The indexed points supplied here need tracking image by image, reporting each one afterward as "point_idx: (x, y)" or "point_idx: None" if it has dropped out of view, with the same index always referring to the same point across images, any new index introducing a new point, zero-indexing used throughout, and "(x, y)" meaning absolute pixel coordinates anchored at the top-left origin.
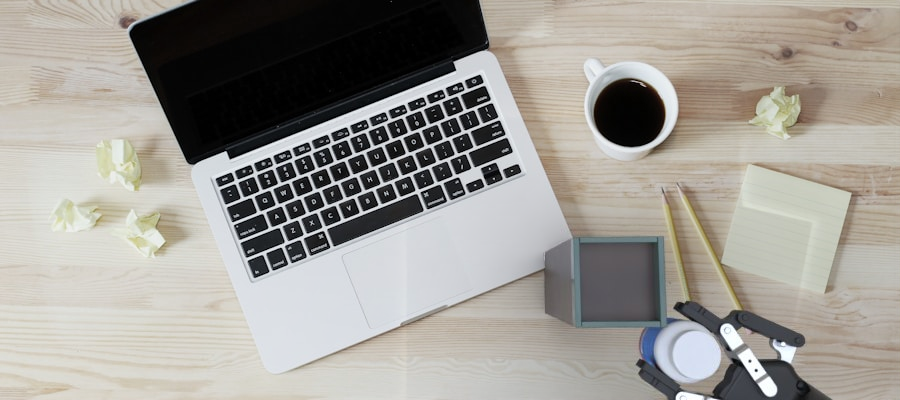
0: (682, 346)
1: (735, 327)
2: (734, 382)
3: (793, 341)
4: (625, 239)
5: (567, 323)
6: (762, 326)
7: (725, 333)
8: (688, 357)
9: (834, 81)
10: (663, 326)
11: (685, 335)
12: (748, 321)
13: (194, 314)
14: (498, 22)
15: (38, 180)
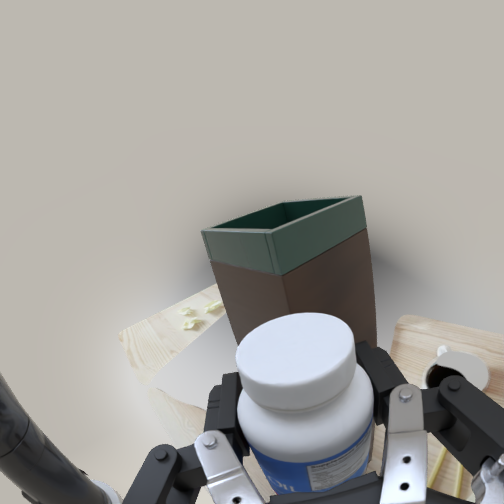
0: (285, 322)
1: (426, 407)
2: (331, 496)
3: None
4: (321, 198)
5: (226, 311)
6: (479, 411)
7: (398, 399)
8: (275, 338)
9: None
10: (268, 232)
11: (307, 313)
12: (456, 394)
13: (165, 349)
14: (402, 318)
15: (192, 300)
